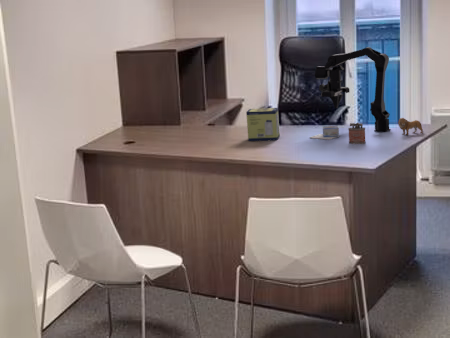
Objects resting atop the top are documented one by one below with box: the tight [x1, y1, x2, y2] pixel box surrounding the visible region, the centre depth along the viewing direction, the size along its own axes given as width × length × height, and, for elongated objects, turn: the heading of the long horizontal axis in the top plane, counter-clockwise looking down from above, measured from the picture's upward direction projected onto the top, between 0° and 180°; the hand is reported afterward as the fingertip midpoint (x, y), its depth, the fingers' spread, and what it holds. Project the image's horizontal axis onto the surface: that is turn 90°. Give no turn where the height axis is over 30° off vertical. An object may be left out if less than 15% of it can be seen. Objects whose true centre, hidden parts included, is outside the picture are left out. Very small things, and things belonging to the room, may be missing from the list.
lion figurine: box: [398, 117, 424, 136], centre depth 358 cm, size 15×5×9 cm, turn 114°
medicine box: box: [322, 125, 340, 137], centre depth 368 cm, size 8×4×9 cm
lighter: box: [347, 122, 367, 145], centre depth 345 cm, size 8×3×10 cm, turn 71°
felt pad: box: [309, 133, 340, 141], centre depth 368 cm, size 12×10×1 cm
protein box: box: [245, 107, 281, 142], centre depth 374 cm, size 10×16×16 cm
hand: (336, 108), depth 382 cm, fingers closed
